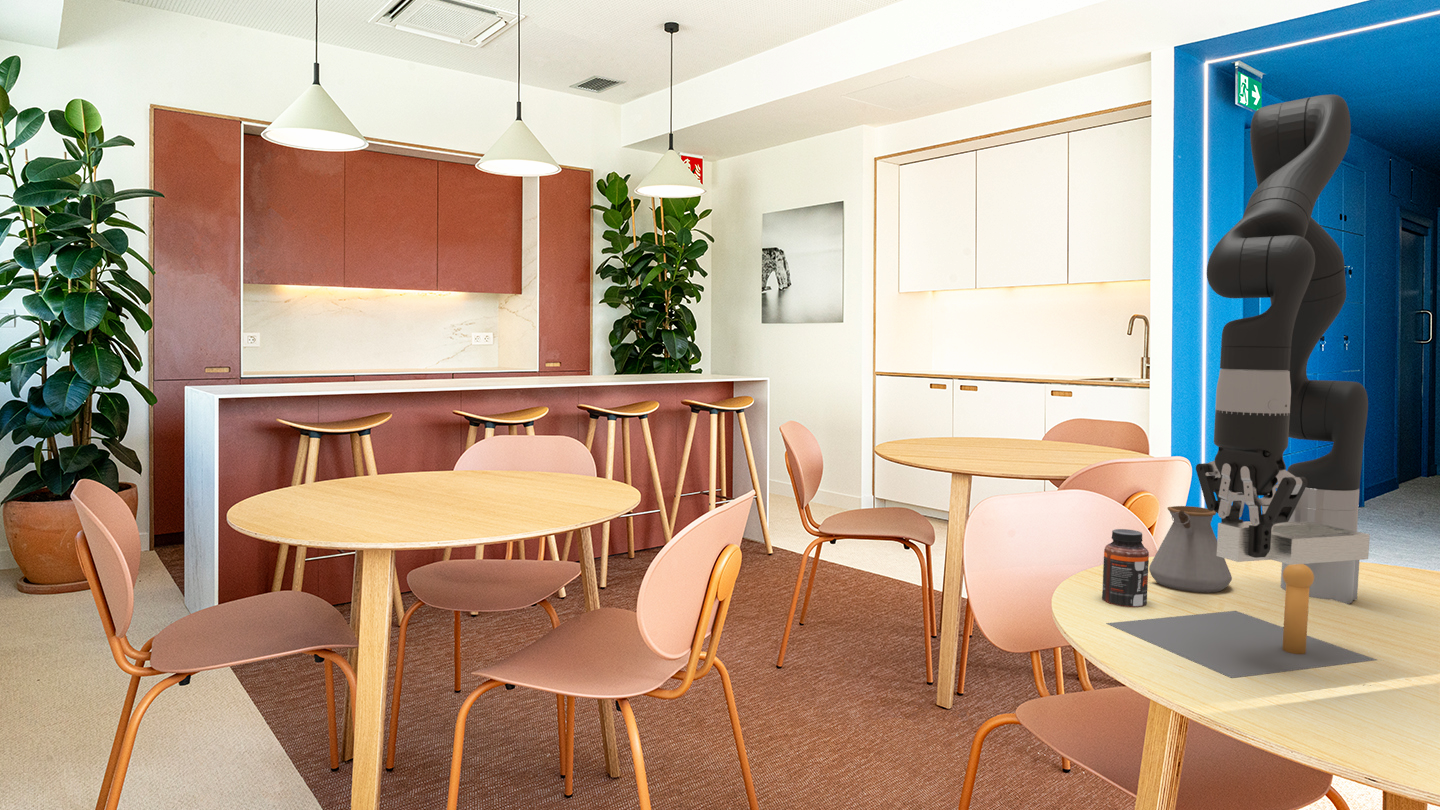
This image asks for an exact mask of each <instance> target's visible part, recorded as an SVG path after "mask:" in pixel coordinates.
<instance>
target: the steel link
mask: <svg viewBox="0 0 1440 810" xmlns="http://www.w3.org/2000/svg"><path fill="white" fill-rule="evenodd" d="M1249 525H1252V524H1251V522H1250V521H1243V522H1230V523H1221V522H1218V523H1217V537H1216V539H1217V556H1218V557H1222V558H1224V559H1225V560H1230V561H1233V562H1237V563H1243V562H1255V561H1274V562H1279V563H1281V564H1282V563H1286V564H1289V565H1294V564H1308V563H1322V562H1336V561H1350V560H1359V561H1362V560H1369V553H1370V538H1371V535H1370V534H1371V533H1366V532H1359V531H1357V532H1356V531H1351V530H1347V529H1342V528H1337V527H1332V526H1328V525H1323V524H1318V523H1313V522H1308V521H1305V522H1286V523H1278V524H1274V525H1273V526H1272V529H1271V544H1270V545H1271V546H1270V551H1269V553H1267V555H1266V557H1259V558H1254V557H1251V556H1249V555H1248V545H1249Z"/></svg>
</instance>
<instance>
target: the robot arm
mask: <svg viewBox="0 0 1440 810" xmlns="http://www.w3.org/2000/svg"><path fill="white" fill-rule="evenodd" d="M1347 104H1348V103H1347V102H1346V101H1345V99H1344V98H1343V96H1340V95H1338V94H1321V95H1315V96H1311V97H1309V96H1308V97H1304V98H1300V99H1295V100H1291V101H1290V100H1289V101H1285V102H1279V103H1274V104H1269V105H1266V106H1262V107H1260V108H1258V109H1256V111H1255V112H1254V113H1253V115H1252V119H1251V123H1250V132H1249V134H1250V147H1251V150H1250V151H1251V155H1252V161H1253V167H1254V172H1255V179H1256V184H1257V187H1256V189H1255V190H1254V191H1253V193H1252V194H1251V196H1250V197H1249V200H1248V202H1247V204H1246V208H1245V209H1244V213H1243V215H1242V218H1241V219H1240V220H1239V221H1238V222H1237V223H1236V224H1235V225H1234V226H1233V227H1231V228H1230V229H1229V231H1228V232H1226V233H1225V234H1224V235H1223V237H1222V238H1220V240H1219V241H1218V242H1217V243H1216V245H1215V247H1214V248H1213V249H1212V251H1211V253H1210V256H1209V258H1208V262H1207V265H1206V278H1207V281H1208V285H1209V287H1210V288H1211V289H1212V291H1213V292H1214V293H1216V295H1218V296H1221V297H1223V298H1227V299H1262V298H1263V299H1264V298H1267V299H1270V306H1269V308H1268V309H1267V310H1265V311H1264V312H1262V313H1260V314H1258V315H1254V316H1249V317H1244V318H1239V319H1238V318H1237V319H1233V320H1231V321H1228V322H1227V323H1226V324H1224V326H1223V328H1222V333H1221V339H1220V340H1221V345H1220V357H1219V358H1220V363H1219V364H1220V365H1219V368H1220V369H1219V375H1218V380H1217V383H1216V392H1215V413H1214V428H1213V443H1214V445H1215V446H1216V447H1218V450H1217V453H1216V454H1215V456H1214V460H1213V461H1209V462H1206V463H1205V462H1203V463H1197V464H1196V465H1195V471H1196V475H1197V478H1198V482H1199V484H1200V489H1201V491H1202V495H1203V499H1204V502H1205V505H1206V508H1207V509H1208V510H1210V511H1215V512H1216V514H1218V517H1219V518H1221V522H1220V523H1230V522H1244V520H1243V519H1240V518H1241V517H1242V515H1243V513H1244V508H1245V505H1247V507H1248V510H1249V512H1248V514H1249V520H1250V522H1251V524H1252V525H1249V545H1248V555H1249V556H1251V557H1254V558H1259V557H1266V555H1267V553H1269V551H1270V546H1271V545H1270V544H1271V529H1272V526H1273V525H1274V524H1278V523H1286V522H1305V521H1308V522H1313V523H1318V524H1323V525H1328V526H1332V527H1337V528H1342V529H1347V530H1351V531H1356V532H1358V521H1359V503H1360V485H1361V475H1362V467H1363V466H1362V465H1363V453H1364V443H1365V437H1366V436H1365V435H1366V428H1367V421H1368V411H1369V399H1368V397H1369V396H1368V393H1367V390H1366V388H1365V387H1364V386H1363V384H1362V383H1360V382H1358V381H1350V380H1348V381H1347V380H1323V379H1321V380H1318V379H1309V378H1308V377H1307V376H1308V375H1307V374H1308V373H1307V369H1308V368H1307V367H1308V366H1307V365H1308V361H1309V359H1310V356H1311V354H1312V353H1313V350H1314V348H1315V347H1316V346H1317V344H1318V342H1319V341H1320V340H1321V338H1322V337H1323V335H1324V334H1326V331H1327V330H1328V329H1329V328H1330V327H1331V325H1332V324H1333V323H1334V321H1335V319H1336V318H1337V317H1338V315H1339V314H1340V312H1341V311H1342V309H1343V306H1344V304H1345V302H1346V299H1347V286H1346V285H1347V284H1346V271H1345V270H1346V269H1345V258H1344V255H1343V252H1342V250H1341V248H1340V245H1338V243H1337V242H1336V241H1335V240H1334V238H1333V237H1332V236H1331V235H1330V234H1329V233H1328V232H1327V231H1326V230H1325V229H1324V228H1323V227H1322V226H1321V225H1320V224H1319V223H1318V222H1317V221H1316V220H1315V219H1314V218H1313V216H1312V214H1313V210H1314V207H1315V205H1316V203H1317V200H1318V198H1319V197H1320V195H1321V193H1322V191H1323V190H1324V188H1325V187H1326V186H1327V184H1328V183H1329V182H1330V180H1331V178H1332V177H1333V175H1334V174H1335V172H1336V170H1337V169H1338V168H1339V166H1340V164H1341V163H1342V161H1343V160H1344V157H1345V155H1346V153H1347V152H1348V147H1349V144H1350V140H1351V125H1352V124H1351V116H1350V111H1349V110H1350V109H1349V107H1348V105H1347ZM1289 438H1291V439H1296V440H1307V441H1317V442H1329V443H1330V442H1332V443H1333V445H1332V448H1331V450H1330V451H1329V452H1328V453H1327V454H1325V455H1323V456H1321V457H1318V458H1316V459H1310V460H1304V461H1299V462H1296V463H1292V464H1290V465H1289V466H1288V468H1287V465H1286V462H1285V460H1284V452H1285V451H1286V450H1287V449H1288V447H1289ZM1258 496H1262V497H1261V498H1260V497H1258ZM1288 565H1289V564H1286V563H1282V562H1281V569H1280V570H1281V575H1280V588H1281V589H1282V590H1284V591H1286V583H1285V581H1284V579H1283V571H1284V569H1285V568H1286V567H1287V566H1288ZM1304 565H1306V566H1308V567H1309V568H1310V569H1311V570H1312V572H1313V574H1314V581H1313V583H1312V585H1311V586H1310V588H1309V598H1313V599H1314V598H1315V599H1321V600H1332V601H1335V602H1339V603H1343V604H1346V605H1350V604H1351V603H1353V601H1354V600H1355V601H1356V600H1358V590H1359V577H1360V576H1359V575H1360V573H1359V572H1360V560H1350V561H1336V562H1322V563H1308V564H1304Z"/></svg>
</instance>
